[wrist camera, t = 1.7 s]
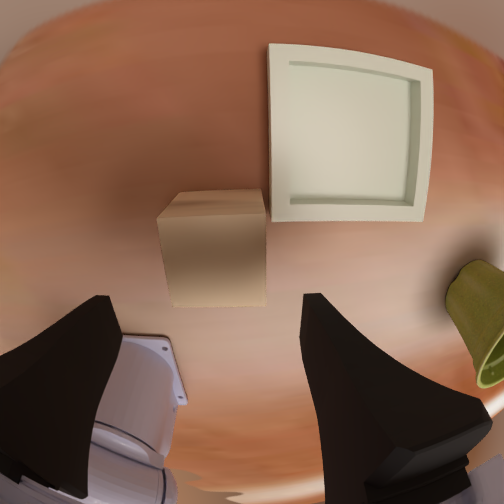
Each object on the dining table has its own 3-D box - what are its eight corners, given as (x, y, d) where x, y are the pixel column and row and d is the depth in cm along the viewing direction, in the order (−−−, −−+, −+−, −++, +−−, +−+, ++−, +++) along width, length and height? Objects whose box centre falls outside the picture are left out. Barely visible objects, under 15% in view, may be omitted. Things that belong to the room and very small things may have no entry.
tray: (410, 212, 18) (422, 221, 16) (269, 212, 18) (271, 221, 16) (417, 72, 13) (432, 69, 12) (266, 51, 13) (268, 43, 12)
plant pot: (431, 260, 20) (495, 326, 12) (503, 229, 18) (565, 274, 11) (426, 339, 23) (465, 404, 16) (491, 306, 22) (534, 355, 14)
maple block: (261, 261, 19) (266, 306, 15) (188, 263, 19) (172, 307, 15) (260, 188, 17) (266, 213, 13) (179, 191, 17) (156, 218, 13)
